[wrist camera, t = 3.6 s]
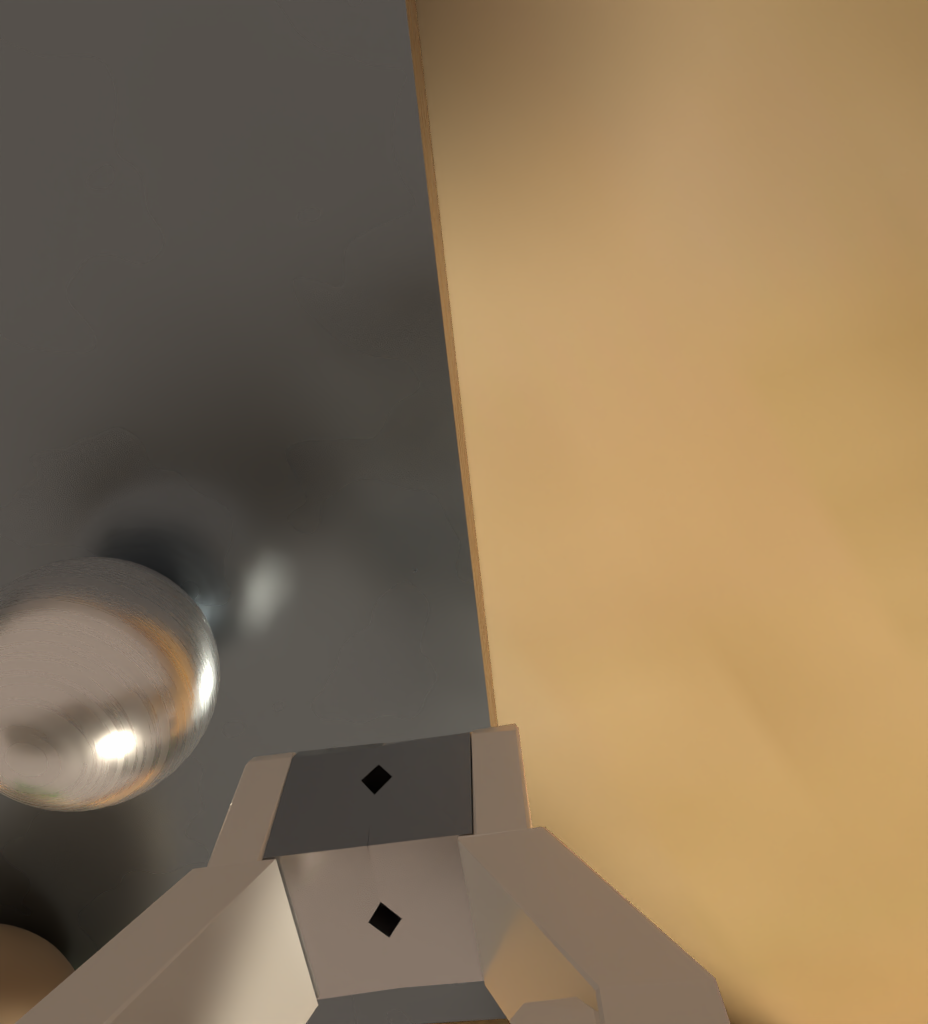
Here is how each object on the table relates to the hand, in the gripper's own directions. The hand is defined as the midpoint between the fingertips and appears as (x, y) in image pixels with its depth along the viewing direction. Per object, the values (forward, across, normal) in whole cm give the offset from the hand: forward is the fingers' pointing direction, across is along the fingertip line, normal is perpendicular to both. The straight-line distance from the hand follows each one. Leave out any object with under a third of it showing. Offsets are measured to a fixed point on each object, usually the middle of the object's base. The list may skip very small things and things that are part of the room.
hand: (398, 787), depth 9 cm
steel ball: (+2, +4, -1) cm, 4 cm away
